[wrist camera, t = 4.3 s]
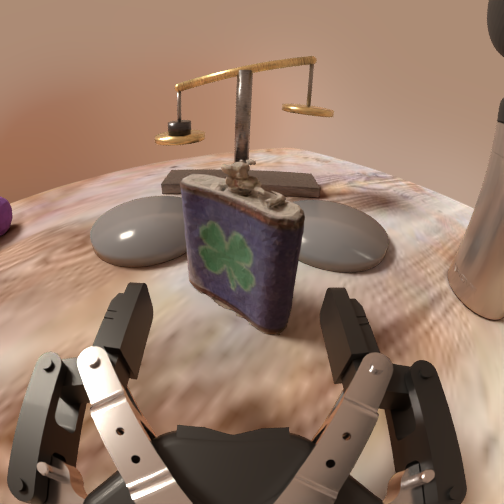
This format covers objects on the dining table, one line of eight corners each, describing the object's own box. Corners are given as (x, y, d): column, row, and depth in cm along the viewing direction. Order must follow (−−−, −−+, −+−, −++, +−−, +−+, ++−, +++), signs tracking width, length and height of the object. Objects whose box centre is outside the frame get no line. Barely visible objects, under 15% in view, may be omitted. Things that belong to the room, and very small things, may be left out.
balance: (316, 182, 43) (330, 61, 32) (327, 199, 38) (345, 59, 26) (165, 178, 42) (161, 56, 31) (153, 195, 37) (146, 53, 25)
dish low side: (212, 204, 34) (211, 195, 34) (197, 269, 24) (195, 258, 23) (118, 205, 34) (116, 197, 33) (73, 264, 23) (69, 254, 23)
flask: (183, 281, 22) (170, 153, 16) (208, 265, 24) (204, 144, 18) (274, 342, 18) (298, 190, 12) (297, 318, 20) (326, 176, 14)
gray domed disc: (362, 211, 35) (364, 203, 35) (404, 272, 25) (408, 262, 24) (267, 205, 35) (268, 197, 34) (277, 271, 24) (279, 260, 23)
